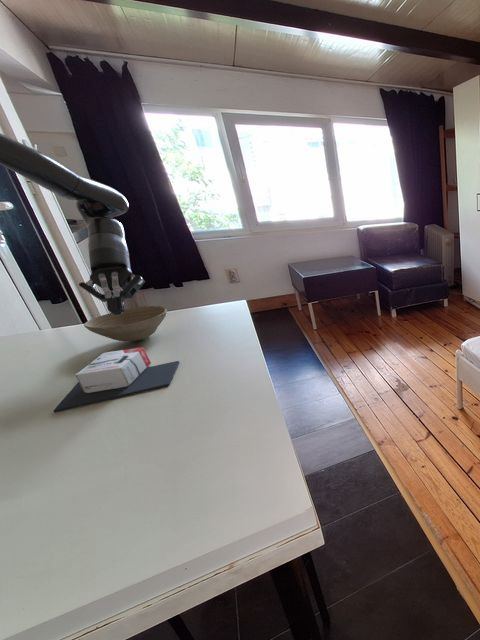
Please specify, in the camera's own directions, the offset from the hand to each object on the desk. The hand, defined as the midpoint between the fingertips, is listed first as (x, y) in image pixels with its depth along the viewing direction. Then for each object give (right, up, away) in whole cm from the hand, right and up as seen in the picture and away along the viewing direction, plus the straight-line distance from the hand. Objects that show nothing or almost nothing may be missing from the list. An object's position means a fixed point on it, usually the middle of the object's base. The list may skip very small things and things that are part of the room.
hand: (117, 313), depth 91 cm
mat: (+7, -17, -6) cm, 20 cm away
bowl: (-11, -6, +18) cm, 22 cm away
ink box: (+3, -11, 0) cm, 11 cm away
